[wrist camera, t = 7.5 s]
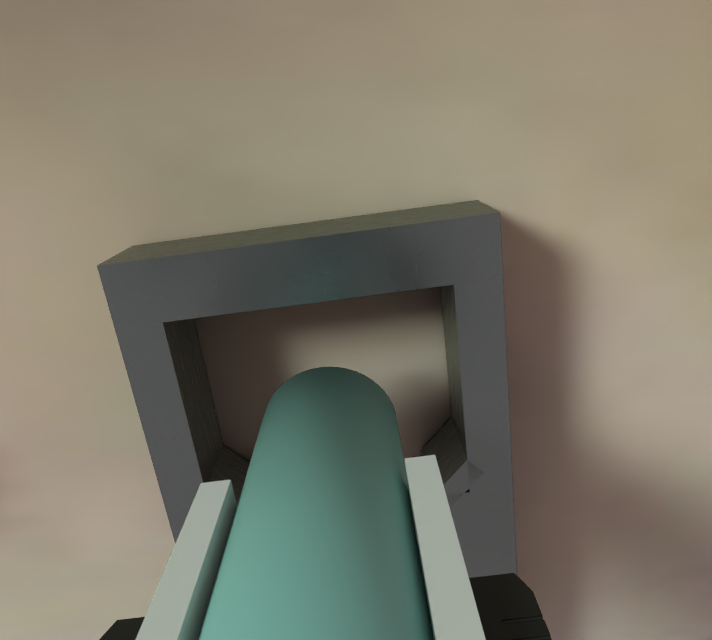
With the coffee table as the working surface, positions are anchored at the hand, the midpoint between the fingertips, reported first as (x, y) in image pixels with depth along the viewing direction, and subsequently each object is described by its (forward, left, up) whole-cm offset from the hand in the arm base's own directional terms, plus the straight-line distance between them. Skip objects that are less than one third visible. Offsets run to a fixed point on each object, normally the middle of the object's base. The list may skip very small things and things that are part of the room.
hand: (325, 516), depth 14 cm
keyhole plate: (+4, 0, -8) cm, 9 cm away
